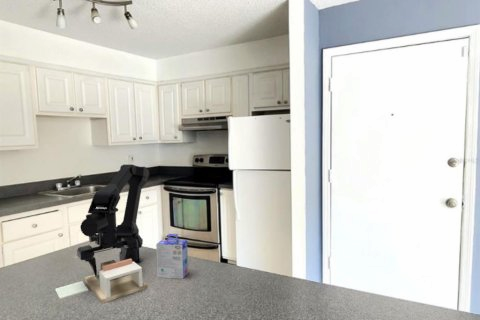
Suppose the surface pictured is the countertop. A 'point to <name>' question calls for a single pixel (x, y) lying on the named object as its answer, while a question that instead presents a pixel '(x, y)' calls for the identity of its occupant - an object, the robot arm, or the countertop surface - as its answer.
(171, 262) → the ink cartridge box
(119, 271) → the panel
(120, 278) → the puzzle board
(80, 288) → the coaster pad
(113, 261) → the walnut block
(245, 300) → the countertop surface
